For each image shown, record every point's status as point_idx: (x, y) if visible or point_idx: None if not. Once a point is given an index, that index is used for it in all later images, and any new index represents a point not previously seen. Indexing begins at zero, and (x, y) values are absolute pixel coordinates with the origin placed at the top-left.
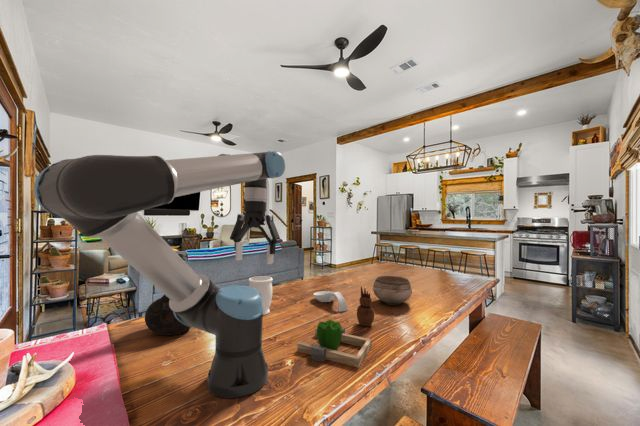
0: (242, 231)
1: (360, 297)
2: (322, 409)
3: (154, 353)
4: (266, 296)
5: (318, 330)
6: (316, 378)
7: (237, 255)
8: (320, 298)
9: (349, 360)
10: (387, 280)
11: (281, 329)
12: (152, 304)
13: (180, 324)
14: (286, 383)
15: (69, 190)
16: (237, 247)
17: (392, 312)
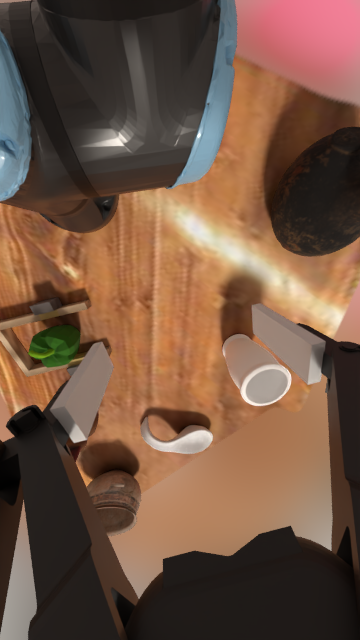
0: (344, 429)
1: (81, 444)
2: None
3: (248, 133)
4: (229, 363)
5: (57, 332)
6: (10, 266)
7: (263, 314)
8: (190, 428)
9: (6, 320)
10: (130, 517)
11: (162, 329)
12: None
13: (276, 192)
14: (23, 229)
15: None
16: (288, 330)
17: (93, 455)
